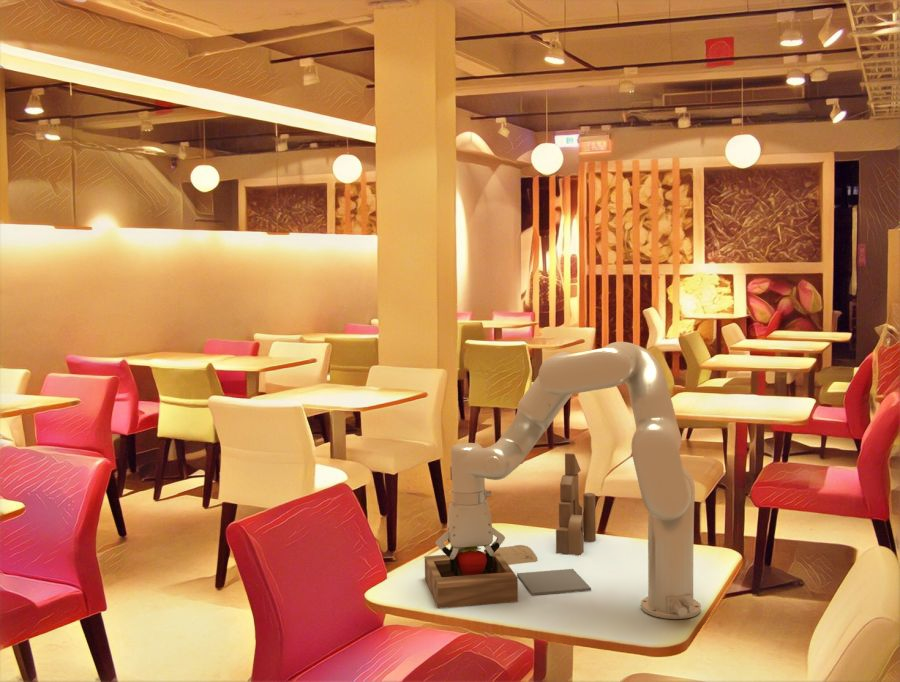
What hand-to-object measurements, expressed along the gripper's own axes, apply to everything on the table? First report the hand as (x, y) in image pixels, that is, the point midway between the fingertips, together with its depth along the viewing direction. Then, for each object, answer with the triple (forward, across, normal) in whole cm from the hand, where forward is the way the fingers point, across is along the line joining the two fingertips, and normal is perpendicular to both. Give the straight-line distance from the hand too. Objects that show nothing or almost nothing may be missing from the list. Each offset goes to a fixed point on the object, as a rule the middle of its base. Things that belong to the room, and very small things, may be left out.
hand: (471, 572), depth 222 cm
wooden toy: (+5, -34, -26) cm, 43 cm away
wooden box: (+4, 0, 0) cm, 4 cm away
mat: (+4, -20, 0) cm, 20 cm away
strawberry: (+3, 0, 0) cm, 3 cm away
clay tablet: (+5, -14, -22) cm, 27 cm away
